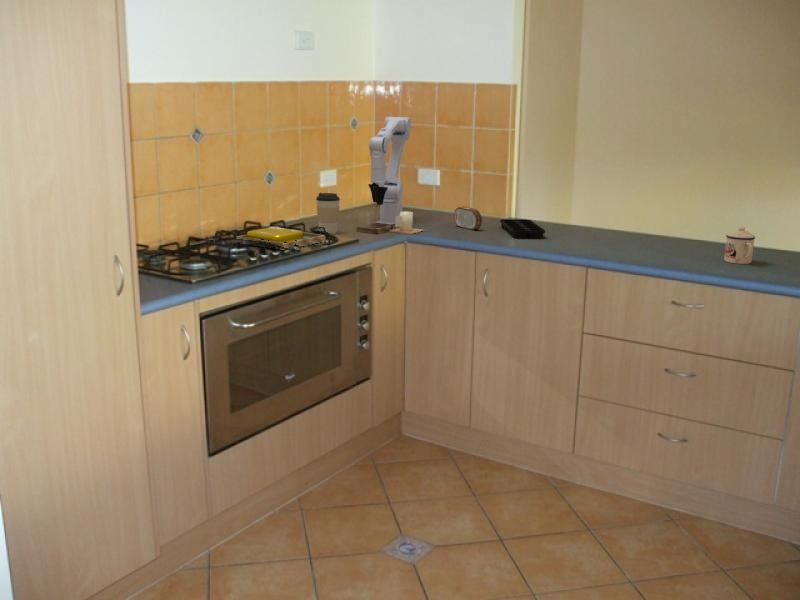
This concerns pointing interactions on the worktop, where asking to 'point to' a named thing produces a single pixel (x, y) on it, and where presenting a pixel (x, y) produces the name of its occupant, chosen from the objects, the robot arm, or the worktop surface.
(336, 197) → the coffee cup
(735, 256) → the teacup with lid
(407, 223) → the jug
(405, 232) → the plate
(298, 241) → the corral
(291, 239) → the element tile
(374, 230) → the holder
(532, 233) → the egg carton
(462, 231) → the worktop surface
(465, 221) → the brown speaker
